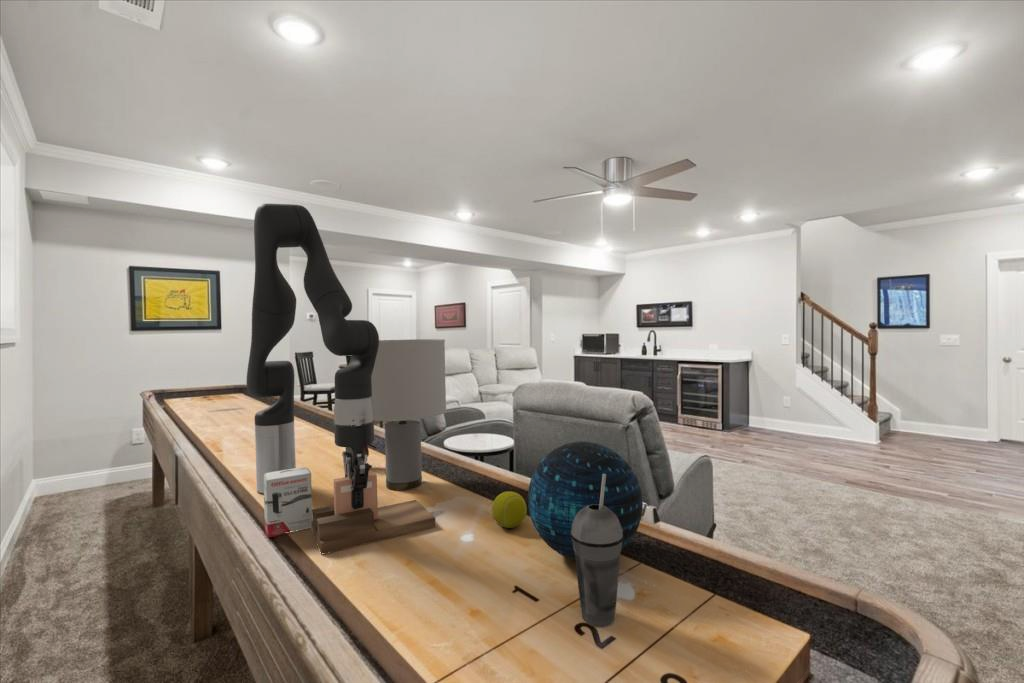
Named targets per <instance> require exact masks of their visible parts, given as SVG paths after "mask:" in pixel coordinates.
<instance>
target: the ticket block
mask: <svg viewBox="0 0 1024 683" xmlns="http://www.w3.org/2000/svg"><path fill="white" fill-rule="evenodd" d="M433 528H436V516H434V514H432V513H431V512H430V511H429V510H428V509H427V508H425V506H424V505H422V504H421V503H420V502H419V501H418V500H417V499H414V500H412V499H411V500H409V501H403V502H399V503H398V502H397V503H393V504H390V505H389V504H388V505H384V506H379V507H378V519H375V520H374V512H373V511H372V510H371V509H370V508H367V509H363V510H358V511H353V512H348V513H343V514H338V515H335V513H334V504H332V505H327V506H322V507H317V508H312V528H311V532H312V534H313V538H314V537H315V538H314V540H315V542H317V543H316V545H317V544H318V545H317V547H319V548H318V549H320V550H319V552H321V553H320V555H321V554H322V553H326V554H329V553H328V552H330V553H334V552H337V551H341V550H346V549H350V548H354V547H359V546H362V545H367V544H370V543H375V542H379V540H380V541H384V540H388V539H391V537H392V538H395V537H396V538H397V537H400V536H405V535H408V534H412V533H416V532H419V531H421V532H422V531H424V530H428V529H433ZM387 538H388V539H387ZM383 539H384V540H383ZM322 555H323V554H322Z"/></svg>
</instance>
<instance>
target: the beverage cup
mask: <svg viewBox="0 0 1024 683" xmlns="http://www.w3.org/2000/svg"><path fill="white" fill-rule="evenodd" d="M605 481H606V474H603V475H602V484H601V494H600V504H592V505H588V506H586V507H584V508H582V509H581V510H580V511H579V512H578V513H577V515H576V517H575V518H574V521H573V524H572V530H571V533H570V534H571V538H572V543H573V548H574V551H575V558H576V560H575V567H576V575H577V586H578V587H577V588H578V595H579V596H578V597H579V598H578V599H579V607H580V611H581V618H582V620H583V622H585V623H586V624H587V625H589V626H591V627H596V628H604V627H609V626H610V625H612V624H613V623H614V622H615V619H616V618H615V614H616V609H617V599H618V598H617V596H618V587H619V586H618V583H619V572H620V571H619V570H620V556H621V552H622V550H621V548H622V541H623V539H624V537H623V534H622V528H621V525H620V522H619V520H618V518H617V516H616V515H615V514H614V512H612V511H611V510H610V509H609V508H607V507H605V506H603V501H604V491H605Z"/></svg>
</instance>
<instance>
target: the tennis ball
mask: <svg viewBox="0 0 1024 683" xmlns="http://www.w3.org/2000/svg"><path fill="white" fill-rule="evenodd" d="M527 508H528V507H527V503H526V501H525V499H524V498H523V496H522V495H520V494H519V493H517V492H515V491H503V492H501V493H500V494H498V495H497V496H496V497H495V498H494V499H493V502H492V506H491V512H492V517H493V518H494V521H495V522H496V523H497V525H498V526H500V527H503V528H505V529H512V528H516V527H518V526H520V525H521V524H523V522H524V520H525V519H526V516H527V510H528V509H527Z"/></svg>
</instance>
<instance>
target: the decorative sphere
mask: <svg viewBox="0 0 1024 683" xmlns="http://www.w3.org/2000/svg"><path fill="white" fill-rule="evenodd" d="M603 474H606V481H605V491H604V501H603V506H605V507H607V508H609V509H610V510H611V511H612V512H614V514H615V515H616V516H617V518H618V520H619V522H620V525H621V528H622V534H623V537H624V539H623V541H622V548H621V551H622V550H623V549H625V547H627V545H628V544H629V543H630V542H631V541H632V539H633V538H634V536H635V535H636V532H637V531H638V529H639V525H640V522H641V520H642V516H643V508H644V507H643V506H644V505H643V497H642V495H643V494H642V489H641V485H640V482H639V480H638V477H637V475H636V473H635V472H634V470H633V468H632V467H631V466H630V464H629V463H628V462H627V461H626V459H625V458H623V457H622V456H621V455H619V454H618V453H617V452H616V451H614V450H613V449H611V448H609V447H607V446H605V445H603V444H599V443H595V442H591V441H574V442H569V443H565V444H563V445H561V446H559V447H556V448H555V449H553V450H551V451H550V452H549V453H548V454H547V455H545V456H544V457H543V458H542V459H541V461H540V462H539V463H538V465H537V466H536V468H535V469H534V472H533V474H532V476H531V477H530V481H529V485H528V492H527V493H528V495H527V505H528V507H527V508H528V513H529V516H530V519H531V522H532V525H533V527H534V529H535V530H536V531H537V533H538V536H539V537H540V538H541V539H542V541H543V542H544V543H545V544H546V545H547V546H548V547H549V548H550V549H552V550H553V551H555V552H556V553H558V554H559V555H561V556H563V557H565V558H567V559H570V560H575V561H576V558H575V551H574V548H573V543H572V538H571V534H570V533H571V530H572V524H573V521H574V518H575V517H576V515H577V513H578V512H579V511H580V510H581V509H582V508H584V507H586V506H588V505H592V504H600V494H601V484H602V475H603Z"/></svg>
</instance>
